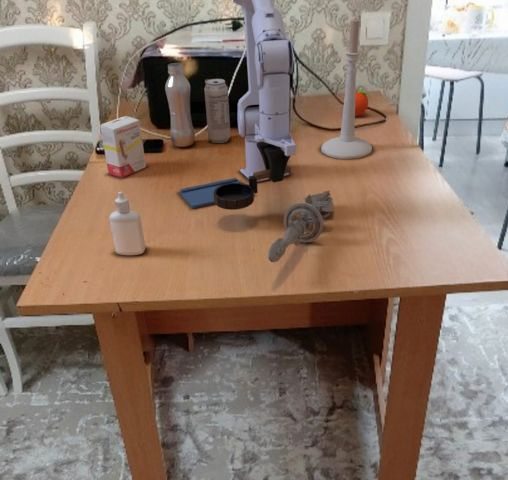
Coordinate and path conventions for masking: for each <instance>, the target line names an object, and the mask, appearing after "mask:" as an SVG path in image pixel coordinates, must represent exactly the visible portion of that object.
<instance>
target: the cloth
mask: <svg viewBox="0 0 508 480" xmlns="http://www.w3.org/2000/svg"><path fill="white" fill-rule="evenodd" d="M228 183H241V182H240V181H239V180H238V178H236V177H232V178H228V179H223V180H217V181H214V182H208V183H203V184H199V185H193V186H190V187H185V188H181V189H180V190H179V191H178V192H179V195H180V196H181V197H182V198H183V199H184V200H185V202H186V203H187V204H188V205H189V206H190V207H191V208H192V209H198V208H202V207H207V206H208V207H209V206H212V205H216V204H215V201H214V195H213V193H214V190H215V189H216V188H217V187H219V186H221V185H223V184H228Z"/></svg>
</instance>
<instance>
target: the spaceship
mask: <svg viewBox="0 0 508 480" xmlns="http://www.w3.org/2000/svg"><path fill="white" fill-rule="evenodd" d="M330 192H331V190H325V191H323V192H321V193H315V194H310V193H309V194H308V195H307V196H306V197H304V202H303V201H302V202H301V201H300V202H296V203H293V204H291V205H289V207H288V208H287V209H286V210H285V213H284V215H283V227H284V229H285V232H284V234H283V236H282V237H279V238H277V239H276V240H275V241H274V242H273V243H272V244H271V245H270V247H269V250H268V253H267V258H268V260H269V262H271V263H277V262H279V261H280V260H281V259H282V258H283V256H284V255H285V254H286V251H287V248H288V247H289V246H290V245H292V244H294V245H295V246H296V247H298V246H299V245H300V244H301V243H312V242H314V241H316V240H317V239H318V238H319V237H320V236H321V235H322V233H323V230H324V219H325V218H326V217H329V215H330V214H331V213H332V212H333V211H334V202H333V197H332V196H331V193H330ZM320 211H323V212H325V213H324V214H323V215H322V214H321V212H320ZM326 212H327V213H326ZM297 214H298V215H299V217H300V218H299V217H298V216H296V215H297ZM307 229H309V230H310V229H311V231H310V232H308V230H307Z"/></svg>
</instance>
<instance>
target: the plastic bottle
mask: <svg viewBox="0 0 508 480" xmlns="http://www.w3.org/2000/svg"><path fill="white" fill-rule="evenodd" d="M167 73H168V78H167V80H166V82H165V85H164V91H165V95H166V99H167V103H168V109H169V115H170V129H169V131H170V132H169V134H170V135H169V137H170V141H171V143H172V145H174V146H175V147H177V148H181V147H182V148H186V147H189V146H191V145H192V146H193V144H194V142H195V140H196V139H195V138H196V134H195V128H194V126H193V121H192V115H191V84H190V82H189V80H188V79H187V77H185V75H184V73H185V71H184V65H183V63H181V62H172V63H169V64H167Z"/></svg>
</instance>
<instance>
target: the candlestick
mask: <svg viewBox="0 0 508 480" xmlns="http://www.w3.org/2000/svg"><path fill="white" fill-rule="evenodd" d="M349 22H350V23H349V24H350V25H349V26H350V27H349V41H348V50H347V51H345V52H344V54H345V55H346V57H347V58H346V61H347V64H348V67H347V69H346V71H347V73H346V80H345V81H346V82H345V89H344V99H343V108H342V118H341V126H340V134H339V136H337V137H333V138H330V139H327V140H326V141H325V142H324V143H322V145H321V153H323V154H324V155H326V156H328V157H331V158H335V159H340V160H341V159H342V160H353V159H360V158H364V157H367V156H369V155H370V154H371V153H372V151H373V147H372V144H371V143H369V142H368V141H367V140H365V139H363V138H360V137H357V136H356V135H355V133H356V131H355V127H356V125H355V124H356V123H355V122H356V116H355V90H356V82H357V81H356V80H357V79H356V78H357V68H356V65H357V62H358V61H359V55H360V54H361V53H362V52H361V51H358V48H359V47H358V46H359V34H360V33H359V30H360V19H357V18H356V17H355V18H354V19H350V21H349Z"/></svg>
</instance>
